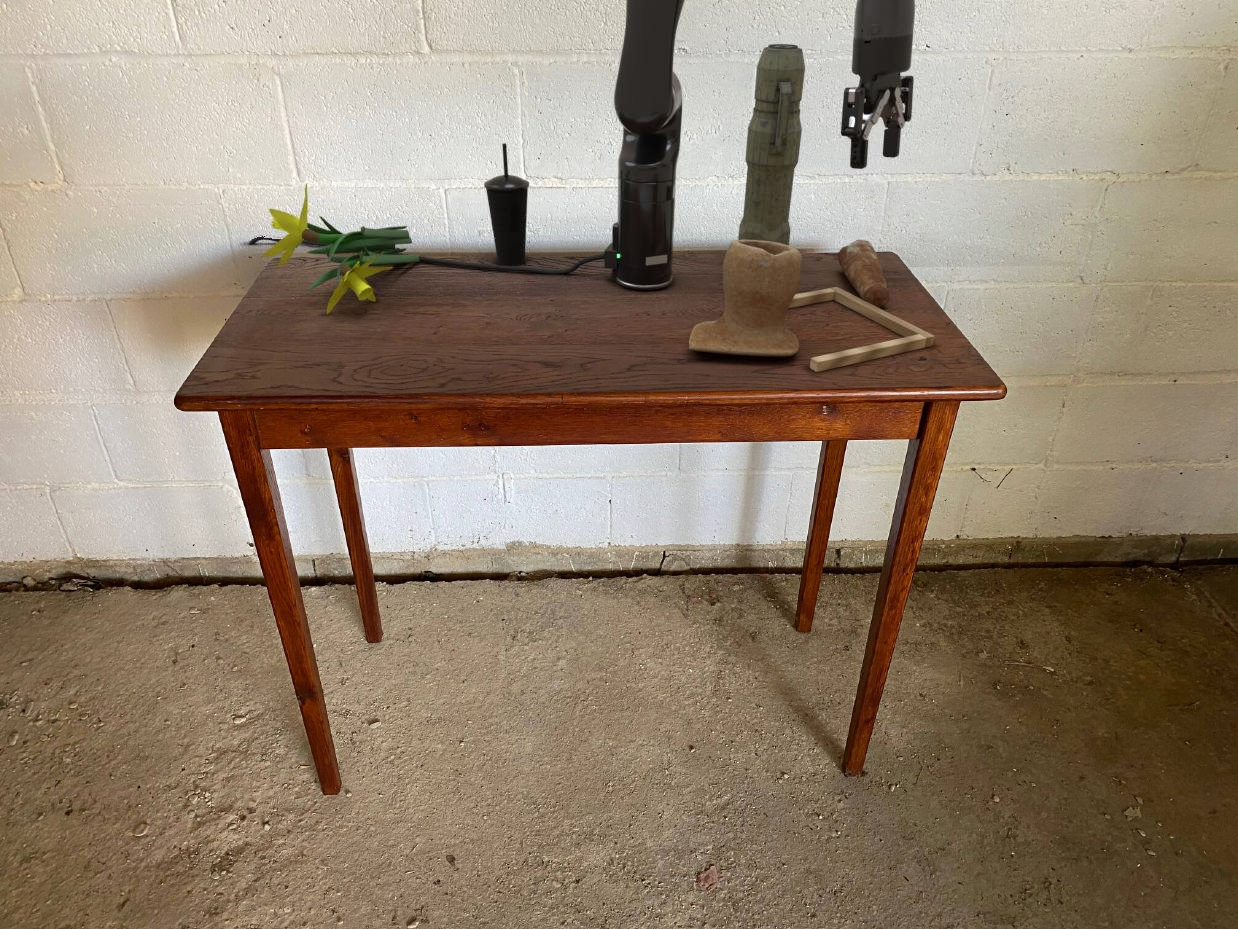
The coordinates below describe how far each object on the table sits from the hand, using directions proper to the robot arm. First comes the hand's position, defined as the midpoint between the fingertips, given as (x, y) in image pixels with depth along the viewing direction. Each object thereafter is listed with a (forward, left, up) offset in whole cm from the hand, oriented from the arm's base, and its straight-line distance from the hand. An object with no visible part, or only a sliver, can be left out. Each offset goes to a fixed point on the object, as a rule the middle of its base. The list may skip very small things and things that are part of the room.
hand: (874, 162), depth 117 cm
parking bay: (-1, -8, -23) cm, 24 cm away
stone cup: (-8, -20, -23) cm, 32 cm away
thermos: (-22, +14, -23) cm, 35 cm away
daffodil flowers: (-70, -36, -23) cm, 82 cm away
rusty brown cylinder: (-2, +12, -23) cm, 26 cm away
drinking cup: (-59, -11, -23) cm, 64 cm away
